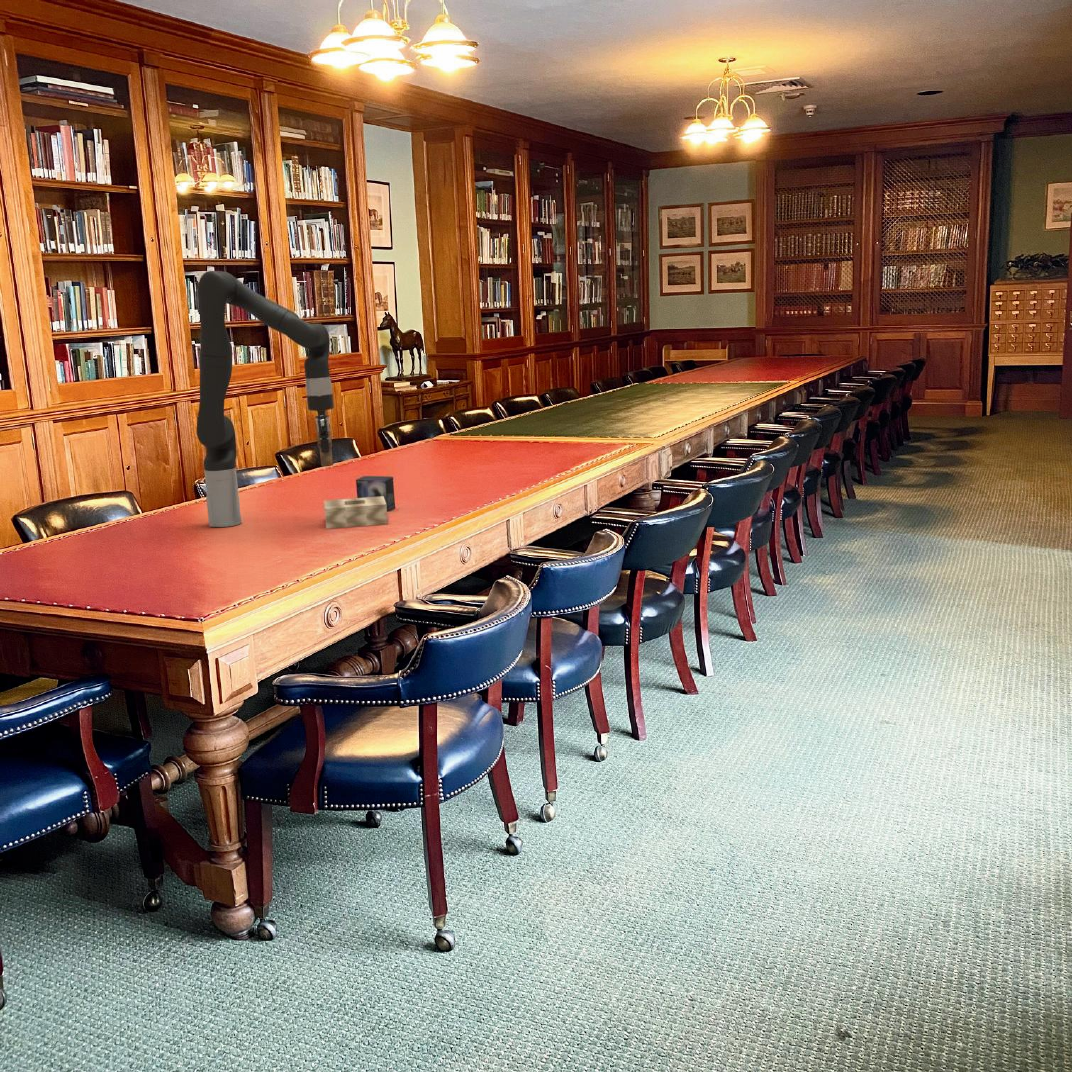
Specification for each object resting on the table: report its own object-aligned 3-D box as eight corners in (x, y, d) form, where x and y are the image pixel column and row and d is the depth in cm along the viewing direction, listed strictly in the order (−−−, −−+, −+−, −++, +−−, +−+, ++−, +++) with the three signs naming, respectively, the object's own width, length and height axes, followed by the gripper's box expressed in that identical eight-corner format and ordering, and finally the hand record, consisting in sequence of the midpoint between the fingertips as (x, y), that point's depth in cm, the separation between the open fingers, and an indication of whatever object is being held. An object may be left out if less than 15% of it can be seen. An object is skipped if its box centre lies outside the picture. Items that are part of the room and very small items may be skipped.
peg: (319, 467, 312) (315, 426, 309) (320, 465, 316) (315, 425, 313) (334, 465, 312) (330, 425, 310) (334, 464, 316) (330, 423, 314)
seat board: (326, 528, 311) (324, 508, 310) (325, 519, 325) (324, 500, 323) (387, 524, 315) (386, 504, 313) (384, 515, 328) (383, 496, 327)
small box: (357, 511, 336) (354, 479, 333) (366, 507, 342) (363, 475, 339) (387, 512, 333) (385, 479, 330) (396, 508, 339) (393, 476, 336)
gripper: (306, 392, 316) (313, 449, 319) (306, 396, 302) (312, 455, 306) (332, 390, 317) (338, 447, 321) (332, 394, 303) (338, 453, 307)
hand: (325, 451), depth 313 cm, fingers closed on peg, 4 cm apart
